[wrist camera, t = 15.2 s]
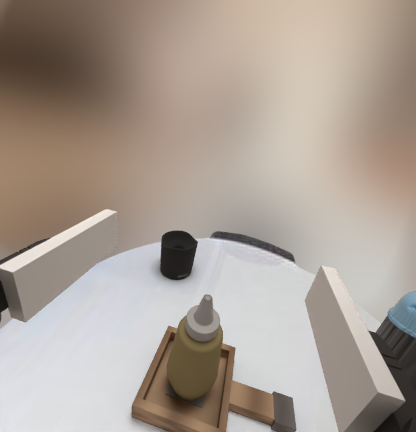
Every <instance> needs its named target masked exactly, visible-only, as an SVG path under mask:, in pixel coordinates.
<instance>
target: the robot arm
mask: <svg viewBox="0 0 416 432" xmlns="http://www.w3.org/2000/svg"><path fill="white" fill-rule="evenodd" d="M116 247H117V212H116V211H112V210H109V209H106V210H104V211H102V212H100V213H98V214H96V215H94V216H92V217H90V218H88V219H87V220H85V221H83V222H81V223H79V224H77V225H75V226H73V227H71V228H69V229H68V230H66V231H64V232H62V233H60V234H58V235H56V236H54V237H52V238H48V239H44V240H41V241H37V242H35V243H34V244H31V245H30V246H28V247H27V248H24V249H22V250H20V251H19V252H16V253H14V254H12V255H10V256H8V257H6V258H4V259H2V260H0V321H1V312H2V311H4V310H5V309H6V308H9V311H10V315H11V317H12V318H15V319H18V320H20V321H23V322H27V321H28V320H29V319H31V318H32V317H33V316H34V315H35V314H37V313H38V312H39V311H40V310H41V309H43V308H44V307H45V306H46V305H47V304H49V303H50V302H51V301H52V300H53V299H55V298H56V297H57V296H58V295H59V294H61V293H62V292H63V291H64V290H65V289H67V288H68V287H69V286H70V285H71V284H73V283H74V282H75V281H76V280H78V279H79V278H80V277H81V276H82V275H84V274H85V273H86V272H87V271H88V270H90V269H91V268H92V267H93V266H94V265H96V264H97V263H98V262H99V261H100V260H102V259H103V258H104V257H105V256H106V255H108V254H109V253H110V252H111V251H112V250H114V249H115V248H116ZM305 303H306V307H307V311H308V315H309V319H310V323H311V326H312V330H313V334H314V338H315V342H316V346H317V349H318V353H319V357H320V361H321V365H322V369H323V373H324V376H325V380H326V384H327V388H328V392H329V396H330V399H331V403H332V407H333V411H334V415H335V419H336V423H337V426H338V430H339V432H416V291H413V292H410V293H407V294H405V295H404V296H403V297H402V298H401V299H400V300H399V302H398V303H397V304H396V305H395V306H394V307H392V308H391V309H390V310H389V311H388V316H387V317H386V319H385V320H384V321H383V323H382V324H381V326H380V327H379V328H378V330H377V331H376V333H375V332H371V331H368V330H367V328H366V326H365V324H364V322H363V320H362V318H361V316H360V315H359V313H358V311H357V309H356V307H355V305H354V303H353V301H352V300H351V298H350V296H349V294H348V292H347V290H346V288H345V287H344V285H343V283H342V281H341V279H340V277H339V275H338V274H337V272H336V270H335V269H334V268H330V267H326V266H321V267H320V269H319V271H318V273H317V275H316V278H315V280H314V282H313V284H312V286H311V288H310V290H309V292H308V294H307V296H306V299H305Z"/></svg>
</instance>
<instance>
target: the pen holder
mask: <svg viewBox="0 0 416 432" xmlns="http://www.w3.org/2000/svg"><path fill="white" fill-rule="evenodd" d="M197 243H198V242H197V241H196V240H195V239H194V238H193V237H192V236H191V235H190V234H189V233H187V232H184V231H170V232H167V233H165V234H164V235H163V236H162V243H161V272H162V273H163V274H164V275H165V276H166V277H168V278H170V279H176V280H178V279H183V278H185V277H187V276H188V275H189V274H190V273H191V270H192V266H193V262H194V257H195V252H196V248H197Z"/></svg>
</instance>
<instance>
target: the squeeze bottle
mask: <svg viewBox="0 0 416 432" xmlns="http://www.w3.org/2000/svg"><path fill="white" fill-rule="evenodd" d="M222 341H223V331H222V328H221V326H220V318H219V315H218V313H217V312H216V311H215V310H214V309H213V302H212V297H211V296H210V295H204V297H203V299H202V301H201V302H200V304H199V305H196V306H194V307H192V308H191V309H190V310H189V311H188V313H187V316H185V317H184V318H183V319H182V320H181V321H180V323H179V326H178V329H177V332H176V335H175V339H174V342H173V345H172V348H171V352H170V355H169V359H168V362H167V366H166V367H167V375H168V379H169V381H170V383H171V385H172V387H173V389H174V391H175V393H176V394H177V395H178V396H179V397H181V398H182V399H184V400H189V401H191V400H195V399H198V398H200V397H201V396H202V395H204V394H205V393H206V392H207V391H208V390H210V389H211V388H212V387H213V385H214V383H215V381H216V379H217V376H218V369H219V362H220V355H221V348H222Z"/></svg>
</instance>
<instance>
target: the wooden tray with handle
mask: <svg viewBox="0 0 416 432" xmlns="http://www.w3.org/2000/svg"><path fill="white" fill-rule="evenodd" d="M176 332H177V328H174V327H171V326H168V328H167V331H166V333H165V335H164V337H163V339H162V341H161V344H160V346H159V348H158V350H157V352H156V354H155V357H154V359H153V361H152V363H151V365H150V367H149V370H148V372H147V374H146V376H145V378H144V380H143V383H142V385H141V387H140V389H139V391H138V393H137V396H136V398H135V400H134V402H133V404H132V417H134V418H137V419H140V420H142V421H145V422H147V423H150V424H152V425H155V426H157V427H160V428H162V429H165V430H167V431H170V432H226V427H227V418H228V410H231V411H233V412H236V413H239V414H242V415H244V416H247V417H250V418H252V419H255V420H258V421H260V422H263V423H266V424H269V425H271V429H273V430H276V431H278V432H295V431H296V423H295V415H294V407H293V398H291V397H288V396H286V395H283V394H280V393H277V392H273V393H272V394H270V393H267V392H264V391H261V390H258V389H255V388H253V387H250V386H247V385H244V384H241V383H238V382H235V381H233V380H232V373H233V364H234V355H235V347H232V346H229V345H226V344H223V343H222V348H221V355H220V362H219V369H218V376H217V379H216V381H215V383H214V385H213V387H212V388H211V389H210V390H208V391H207V392H206V393H205V394H204V395H202V396H201V397H200V398H198V399H195V400H191V401H189V400H184V399H182V398H181V397H179V396H178V395H177V394H176V393H175V391H174V389H173V387H172V385H171V383H170V381H169V379H168V375H167V367H166V366H167V362H168V359H169V355H170V352H171V348H172V345H173V342H174V339H175V335H176Z"/></svg>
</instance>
